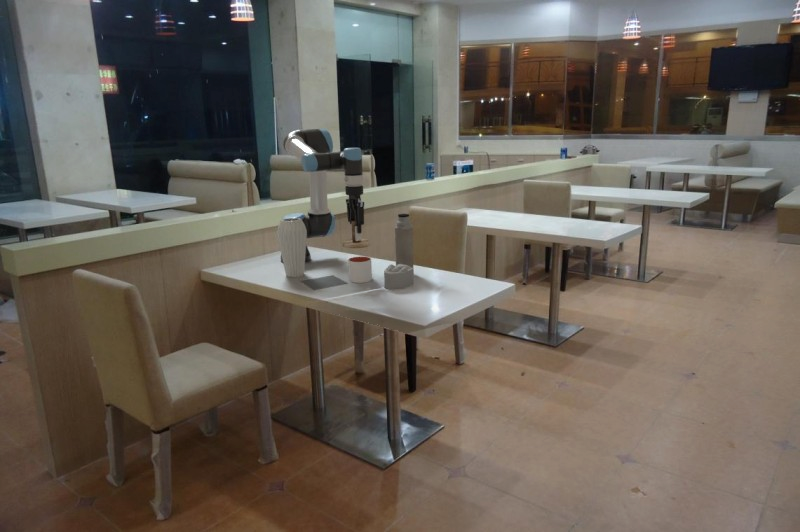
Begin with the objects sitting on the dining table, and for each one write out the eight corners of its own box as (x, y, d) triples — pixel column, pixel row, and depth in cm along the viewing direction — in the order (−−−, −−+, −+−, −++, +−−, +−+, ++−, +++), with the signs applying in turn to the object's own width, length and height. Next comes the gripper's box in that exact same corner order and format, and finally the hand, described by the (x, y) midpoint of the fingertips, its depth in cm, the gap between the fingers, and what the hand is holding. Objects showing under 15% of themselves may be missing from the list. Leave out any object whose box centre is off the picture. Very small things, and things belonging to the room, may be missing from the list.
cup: (368, 284, 243) (367, 262, 240) (346, 284, 245) (345, 261, 242) (374, 278, 252) (373, 256, 250) (352, 277, 254) (351, 256, 252)
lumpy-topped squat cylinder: (416, 284, 243) (416, 264, 240) (396, 291, 233) (396, 271, 231) (398, 280, 249) (398, 261, 247) (378, 287, 240) (377, 267, 237)
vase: (312, 278, 255) (308, 220, 248) (282, 281, 251) (277, 223, 244) (307, 270, 267) (303, 216, 260) (278, 273, 263) (274, 218, 256)
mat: (299, 282, 249) (299, 281, 249) (333, 276, 257) (332, 275, 257) (313, 291, 236) (313, 289, 236) (348, 284, 244) (348, 283, 243)
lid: (338, 244, 246) (337, 220, 243) (362, 240, 252) (361, 217, 249) (350, 249, 236) (348, 224, 233) (375, 245, 242) (374, 221, 239)
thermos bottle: (400, 271, 262) (399, 212, 254) (416, 273, 258) (415, 213, 251) (393, 276, 255) (391, 215, 247) (409, 278, 251) (408, 216, 244)
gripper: (337, 184, 243) (340, 237, 249) (354, 187, 229) (357, 244, 235) (353, 182, 246) (356, 235, 252) (371, 186, 232) (373, 241, 238)
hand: (356, 239), depth 243 cm, fingers closed on lid, 4 cm apart
